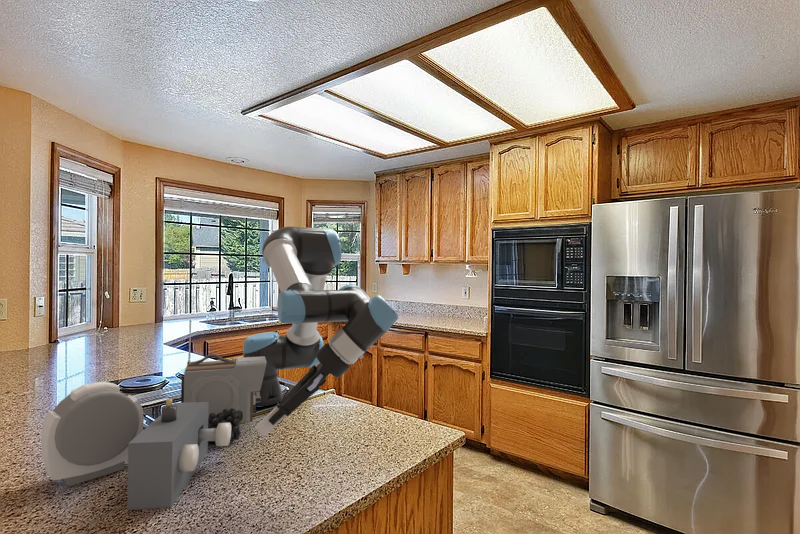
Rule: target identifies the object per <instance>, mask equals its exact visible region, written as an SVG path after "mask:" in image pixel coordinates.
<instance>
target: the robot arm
mask: <svg viewBox="0 0 800 534" xmlns="http://www.w3.org/2000/svg"><path fill="white" fill-rule="evenodd" d="M261 251H262V252H261V254H262V257H263V258H262V259H264V262H265V264H266V265H267V266H268V267H269V268H271V271H272V273H273V275H274V278H275V281H276V282H277V283H276V284H277V285H278V289H279V290H280V292H279V294H278V296H277V301H276V303H277V304H276V309H277V318H278V320H279V322H281V323H282V324H291V327H289V328H288V329H287V330H286V335H281V336H280V334H279V332H276V331H270V332H269V331H267V332H260V333H256V334H253V335H249V336H248V337H246V338H245V339H244V341H243V348H242V354H243V356H242V358H245V357H262V356H265V358H266V361H267V364H266V369H265V373H264V377H263V381H262V386H261V390H260V391H257V392H260V397H261V399H260V402H256V404H255V406H269V405H273V404H276V403H277V404H276V405H275V407H274V408H273V409H272V410H271V411H270V412H269V413H268V414H267V415H266V416H265V417H264V418H263V419H261V421H260V422H259V423H258V424H257V425H255V430H256V431H257V432H258V433H259V434H260V435H262V437H266V436H267V435H268V434H269V433H270V432H271V431H272V430H273V429H274V428H275V427H276V426H277V425H278V424H279V423H280V422H281V421H282V420H283V419H284V418H285V417H290V416H291V414H292V413H293V412H294V411H295V410H296V409H298V408H299V407H300V406H301V405H302V404H303V403H304V402H305V401H307V400H308V399H309V398H310V397H311V396H312V395H313V394H314V393H316V392H318V391H319V390H320V387H322V386H324V384H325V383H326V382H327V377H328V376H329V375H332V377H335V378H341V377H342V376H343V375H344V374H345V373H346V372H347V371H348V370H349V369H350V366H351V365H354V363H356V362H357V360H358V359H360V360H362V359H364V355H365V353H366V352H367V351H368V350H369V349H370V348H371V347H372V346H374V344H376V342H377V341H378V340H379V339H380V338H381V337H383V336H384V335H385V334H386V333H387V332H388V331H390V329H391V327H392V326H393V325H394V324H395V323H396V322H397V321H398V320H399V314H398V312H397V311H396V310H395V309H394V308H393V307H392V306H391V305H390V304H389V302H387V301H386V299H384V298H383V296H381V295H379V294H376V295H374V296H373V297H372V298H371V297H370V296H369V295H368V293H367V292H366V291H365V290H364V289H362V288H361V287H359V286H358V285H356V284H352V283H351V284H349V283H348V284H346V285H344V286H342V287H340V288H339V289H325V285H326V280H327V279H326V278H327V276H328V275H329V274H331V273H332V272H333V268H334V266H338V265H340V263H341V260H342V243H341V239H340V236H339V234H338V233H337V231H336V230H334V229H332V228H324V227H320V228H319V227H301V226H284V227H280V228H278V229H275V230H274V231H273V232H272V233H270V234H269V235H268V236H267V237H266V239H265V240H264V242H263V244H262V249H261ZM334 322H346V323H345V325H343V326H342V327H341V328H340V329H338V330H337V332H335V334H333V336H332V337H331V338H330V339H329V342H327V343H325V344H324V341H323V340H324V339H323V337H322V335H321V334H320V332H319V330H318V323H334ZM302 368H303V369H307V368H308V369H309V370H308V372H307V373H306V374H305V375H304V376H302V378H301V379H300V380H299V381H298V382H297V383H296V384H295V385H294V386H293V387H292V388H291V390H289V392H287V393H286V395H284V396H283V391H282V388H281V384H280V380H279V371H281V370H292V369H302ZM255 394H256V392H255ZM282 399H283V400H282ZM279 402H280V403H279ZM273 406H274V405H273Z"/></svg>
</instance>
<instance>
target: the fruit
mask: <svg viewBox="0 0 800 534" xmlns="http://www.w3.org/2000/svg"><path fill="white" fill-rule="evenodd" d="M242 419H243V412H242V411H237V410H235V409H234V408H231V409H229V410H228V409H224V410H223V411H222V412H220V413H218V414H217V415H216V414H215V413H211V414H210V415H209V418H208V429H211V428H217V426H218V424H219V423H231V439H230V441H233V440H238V439H239V438H240V435H241V429H240V426H241V425H245V423H242V422H240V421H241V420H242ZM211 442H213V443H214V442H215V441H208V444H210V443H211Z"/></svg>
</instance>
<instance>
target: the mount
mask: <svg viewBox="0 0 800 534" xmlns="http://www.w3.org/2000/svg"><path fill="white" fill-rule="evenodd" d="M173 404H174V405H177V419H176V420H175V421H173V422H167V423H164V422H161V414H160V415H159V416H158V417H156V419H154V420H153V421H152V422H151V423H150V424H148V425H147V426H146V427H145V428H143V431H142V432H141V433H140V434H138V435H137V436H136V437H135V438H134V439H133V440H132V441H130V442H129V443H128V460H127V500H126V501H127V504H126V506H127V507H126V510H127V511H131V510H150V509H151V510H152V509H163V508H164V509H165V508H166V509H167V508H172V507H173V506H174V504H175V502H176V501H177V499H178V498H179V497H180V495H181V494H182V492H183V491H184V489H185V488H186V486H187V484H189V482H190V480H191V478H192V477H193V476H194V475H195V473H196V471H197V470H198V468H199V466H200V465H201V464H202V463H203V461H204V460H205V457H207V455H208V453H209V452H208V451H209V450H208V449H209V446H208V445H209V443H208V441H199V442H198V430H199V429H208V405H209V402H186V403H181V402H174V403H173ZM189 444H197V445H198V448H199V456H198V462H197V466H196V468H195V470H194V471H184V472H180V471H179V468H178V460H179V453H180V451H181V448H182V446H183V445H189Z"/></svg>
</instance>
